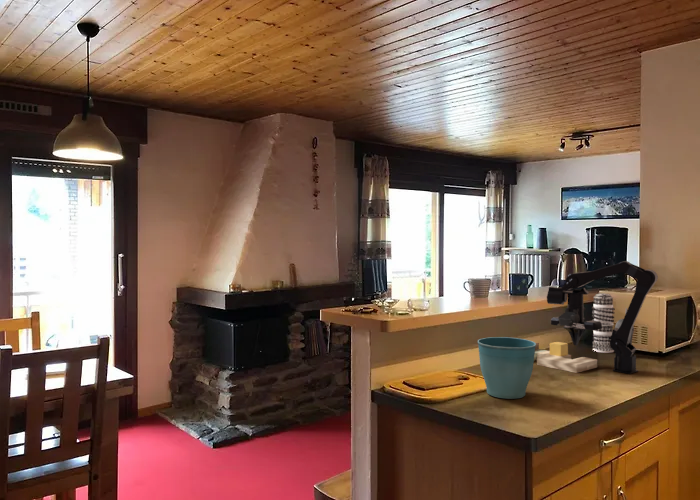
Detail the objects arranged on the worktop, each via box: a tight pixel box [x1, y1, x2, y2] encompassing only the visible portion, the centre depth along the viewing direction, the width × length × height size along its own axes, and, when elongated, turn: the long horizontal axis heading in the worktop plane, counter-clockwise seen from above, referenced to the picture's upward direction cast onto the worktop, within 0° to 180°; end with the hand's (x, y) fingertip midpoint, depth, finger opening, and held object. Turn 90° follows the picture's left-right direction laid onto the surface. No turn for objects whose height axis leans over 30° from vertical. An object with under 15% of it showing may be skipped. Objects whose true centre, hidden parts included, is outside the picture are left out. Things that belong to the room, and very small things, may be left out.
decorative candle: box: [591, 292, 615, 354], centre depth 246 cm, size 9×9×25 cm
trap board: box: [534, 342, 598, 374], centre depth 223 cm, size 27×14×6 cm, turn 36°
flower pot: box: [477, 336, 537, 400], centre depth 180 cm, size 18×18×17 cm
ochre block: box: [549, 341, 569, 356], centre depth 225 cm, size 5×5×4 cm
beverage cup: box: [614, 307, 635, 345], centre depth 235 cm, size 7×7×20 cm
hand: (575, 345), depth 219 cm, fingers closed
